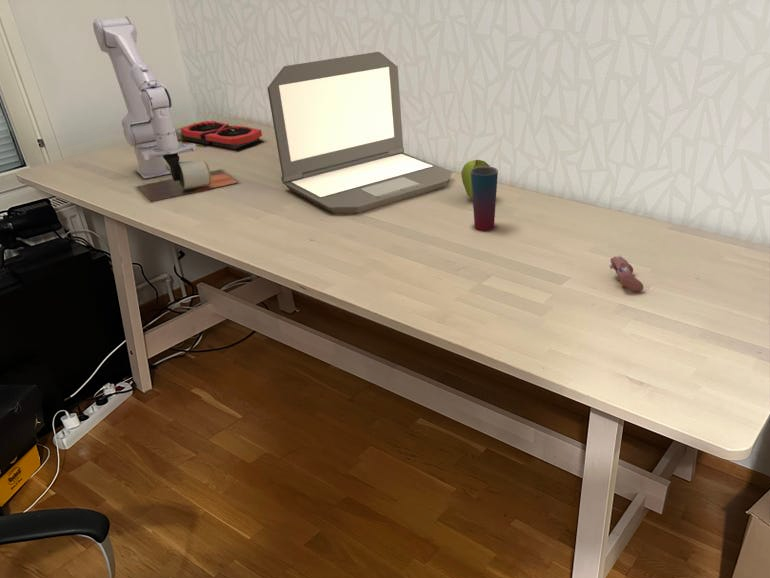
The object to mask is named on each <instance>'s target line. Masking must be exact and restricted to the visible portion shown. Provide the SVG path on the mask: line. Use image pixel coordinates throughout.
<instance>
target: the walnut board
mask: <svg viewBox="0 0 770 578" xmlns="http://www.w3.org/2000/svg"><path fill="white" fill-rule="evenodd" d="M210 174H211V182H210V184H209V185H207V186H202V187H195V188H189V189H182V187H181V186H180V183H179V181H178V180H177V181H174V180H173V178H172V179H167V180H163V181H157V182H152V183H148V184H147V183H146V184H143V185H138V186H137V188H138V189H139V191H141V192H142V193H143V195H144V196H145V197H146V198H147V199H148V200H149V201H150V203H153V202H156V201H163V200H166V199H172V198H176V197H180V196H186V195H190V194H194V193H200V192H204V191H208V190H209V191H210V190H214V189H218V188H223V187H228V186H232V185H237V184H238V182H237V181H236V180H235V179H233V178H232V177H231V176H230V175H228V174H227V173H225V172H224V171H223V170H221V169H215V170H212V171H211V170H210Z"/></svg>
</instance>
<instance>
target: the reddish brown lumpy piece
mask: <svg viewBox="0 0 770 578" xmlns="http://www.w3.org/2000/svg"><path fill="white" fill-rule="evenodd" d="M609 268H610V270H614V271H615V273H616V275H617V277H618V280H619V285H620V286H622V287H623V288H628V289H629V290H631V291H633V292H636V293H641V292H642V291H644V283H642V281H640V280H639V279H638V278H636V277H635V276H634V274H633V273H634V267H633V266H632V265H631V264H630V263H629V262H628V260H626V259H625V258H623V256H621V255H620V254H619V255H618V256H616V255H615V256H613V257H611V258H610V264H609Z"/></svg>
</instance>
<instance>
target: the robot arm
mask: <svg viewBox="0 0 770 578" xmlns="http://www.w3.org/2000/svg"><path fill="white" fill-rule="evenodd" d="M92 27H93V32H94V35H95V38H96V41H97V44H98V47H99V49H100V51H101V52H102V53H106V54H107V55H108V57H109V59H110V61H111V64H112V67H113V70H114V74H115V76H116V79H117V83H118V85H119V88H120V92H121V95H122V97H123V100H124V103H125V107H126V109H127V111H128V112H127V113H126V114H125V116H124V117H123V118H122V120H121V126H122V131H123V135H124V138H125V141H126V142H127V144H128V145H129V146H130V147H132V148H134V154H135V157H136V161H137V164H138V169H136V172H137V173H138V174H139V176H141V177H142V178H143V179H145V180H146V179H150V178H156V177H160V176H161V177H162V176H166V175H170V174H171V178H172V179H173V180H174V181H177V180H178V181H179V180H180V175H179V172H178V169H177V167H178V163H179V162H180V155H181V154H184V153H190V152H191V153H192V152H194V153H195V152H197V151H198V149H197V145H195V144H194V143H191V144H187V143H184V144H179V141H178V139H177V135H176V131H175V130H176V127H175V124H174V119H173V116H172V111H171V109H170V108H172V106H173V104H172V98H171V95H170V92H169V90H168V88H167V87H166V86H165V85H164V84H163V83H162V82H160V81H159V80H158V78H157V76H156V74H155V72H154V71H153V69H152V67H151V65H149V64H147V63H145V62H144V60H143V57H142V55H141V53H140V50H139V48H138V46H137V43H138V39H137V38H138V32H137V28H136V25H135V22H134V20H133V19H132V18H131V17H129V16H125V17H124V16H123V17H122V16H121V17H115V18H114V17H113V18H104V19H103V18H102V19H98V18H97V19H94V20H93V22H92ZM165 162H166V164H167V165H168V167H169V169H170V170H169V169H168V168H167V167H166V164H165Z"/></svg>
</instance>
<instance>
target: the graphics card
mask: <svg viewBox="0 0 770 578" xmlns="http://www.w3.org/2000/svg"><path fill="white" fill-rule="evenodd" d="M175 131H176V135H177V139H178V142H182V143H184V144H191V143H194V144H195V145H196V146H198V147H212V148H216V149H223V150H227V151H228V150H229V151H234V152H241V151H244V150H246V149H249V148H252V147H254V146H257V145H259V144H262V143H264V141H263V140H261V139H260V138H261V137H262V136H263V133H262V129H258V128H253V127H248V126H242V125H235V124H234V125H229V123H225V122H219V121H216V120H211V121H210V120H205V121H200V122H193V123H192V124H189V125H186V126H182V127H178V128H175Z"/></svg>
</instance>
